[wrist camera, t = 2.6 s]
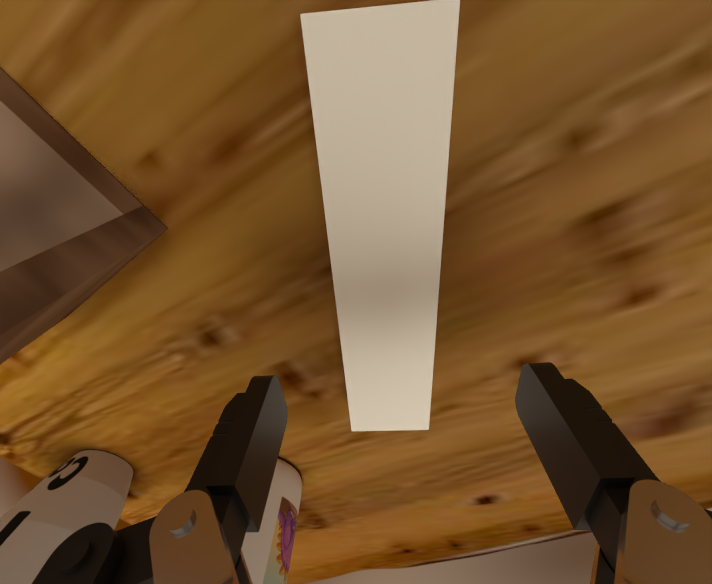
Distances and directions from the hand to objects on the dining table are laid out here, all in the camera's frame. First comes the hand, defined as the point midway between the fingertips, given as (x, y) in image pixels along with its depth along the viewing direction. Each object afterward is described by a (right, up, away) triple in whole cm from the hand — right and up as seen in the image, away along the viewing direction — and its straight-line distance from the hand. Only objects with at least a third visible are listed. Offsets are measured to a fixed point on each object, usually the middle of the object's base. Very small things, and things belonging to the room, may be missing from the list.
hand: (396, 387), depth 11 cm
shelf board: (0, +5, +7) cm, 9 cm away
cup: (-24, -12, +18) cm, 33 cm away
